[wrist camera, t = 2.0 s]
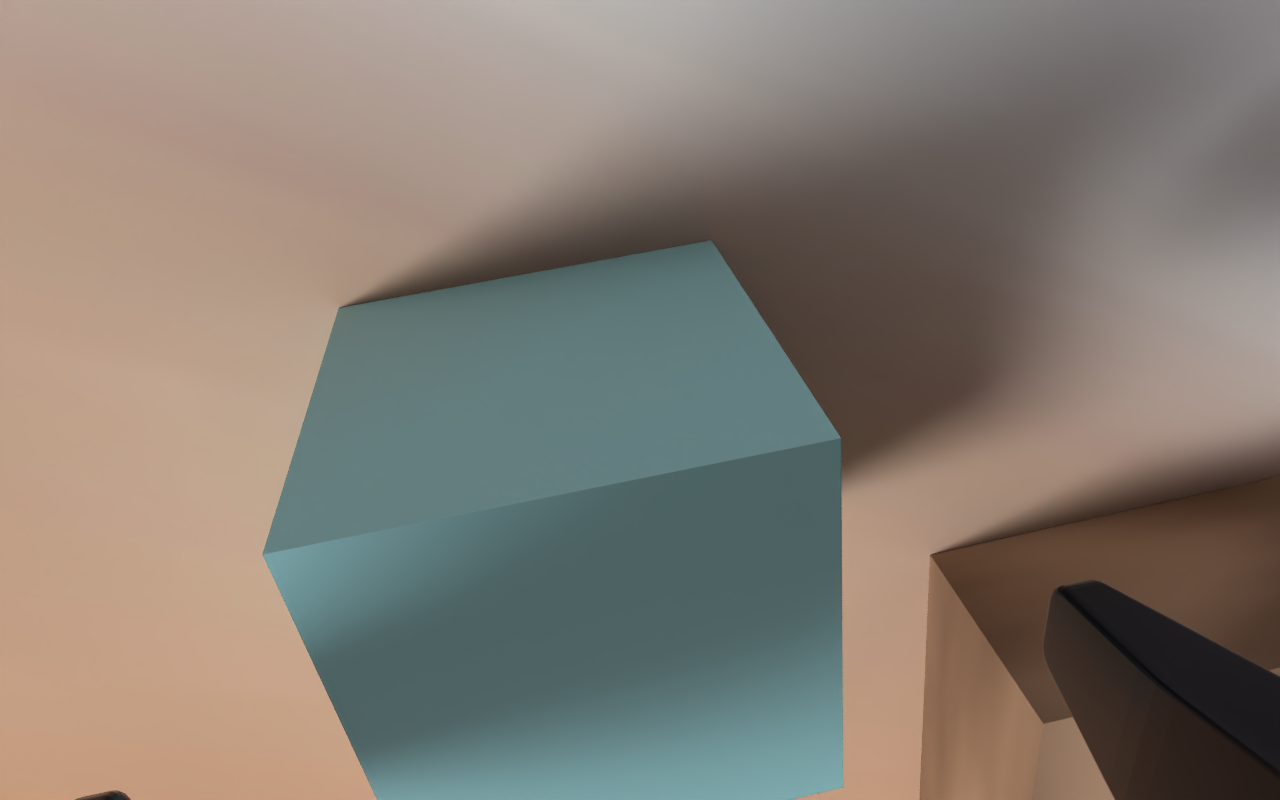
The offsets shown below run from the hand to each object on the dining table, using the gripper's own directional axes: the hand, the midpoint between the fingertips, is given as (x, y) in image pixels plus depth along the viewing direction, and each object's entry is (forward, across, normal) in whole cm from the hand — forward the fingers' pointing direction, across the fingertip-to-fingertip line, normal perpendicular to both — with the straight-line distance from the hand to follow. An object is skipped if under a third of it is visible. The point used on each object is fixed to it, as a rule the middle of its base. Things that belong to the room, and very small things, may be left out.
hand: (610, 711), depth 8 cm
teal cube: (+5, 0, 0) cm, 5 cm away
